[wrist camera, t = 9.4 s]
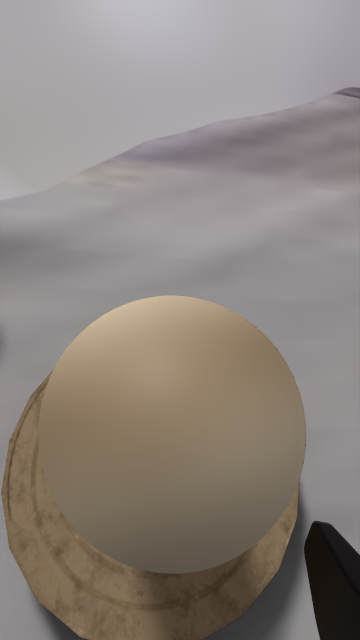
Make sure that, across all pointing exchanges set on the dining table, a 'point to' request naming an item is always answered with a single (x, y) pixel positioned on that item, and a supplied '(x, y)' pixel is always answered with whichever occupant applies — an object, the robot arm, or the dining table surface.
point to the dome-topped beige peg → (172, 434)
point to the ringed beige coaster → (114, 577)
